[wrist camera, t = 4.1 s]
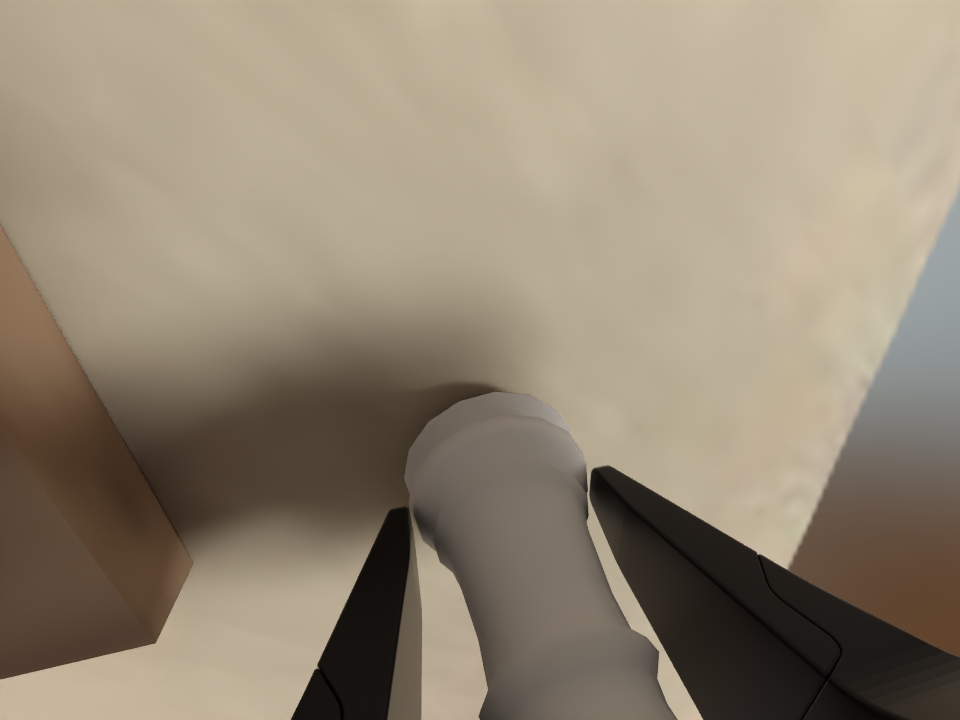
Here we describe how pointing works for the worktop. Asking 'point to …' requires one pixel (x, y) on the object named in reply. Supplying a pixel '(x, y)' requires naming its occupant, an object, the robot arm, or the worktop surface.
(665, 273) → the worktop surface
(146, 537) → the plinth
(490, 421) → the rook chess piece
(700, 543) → the robot arm
